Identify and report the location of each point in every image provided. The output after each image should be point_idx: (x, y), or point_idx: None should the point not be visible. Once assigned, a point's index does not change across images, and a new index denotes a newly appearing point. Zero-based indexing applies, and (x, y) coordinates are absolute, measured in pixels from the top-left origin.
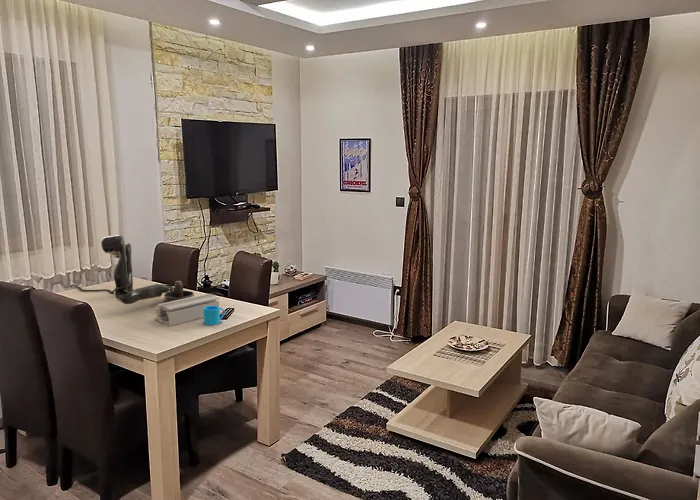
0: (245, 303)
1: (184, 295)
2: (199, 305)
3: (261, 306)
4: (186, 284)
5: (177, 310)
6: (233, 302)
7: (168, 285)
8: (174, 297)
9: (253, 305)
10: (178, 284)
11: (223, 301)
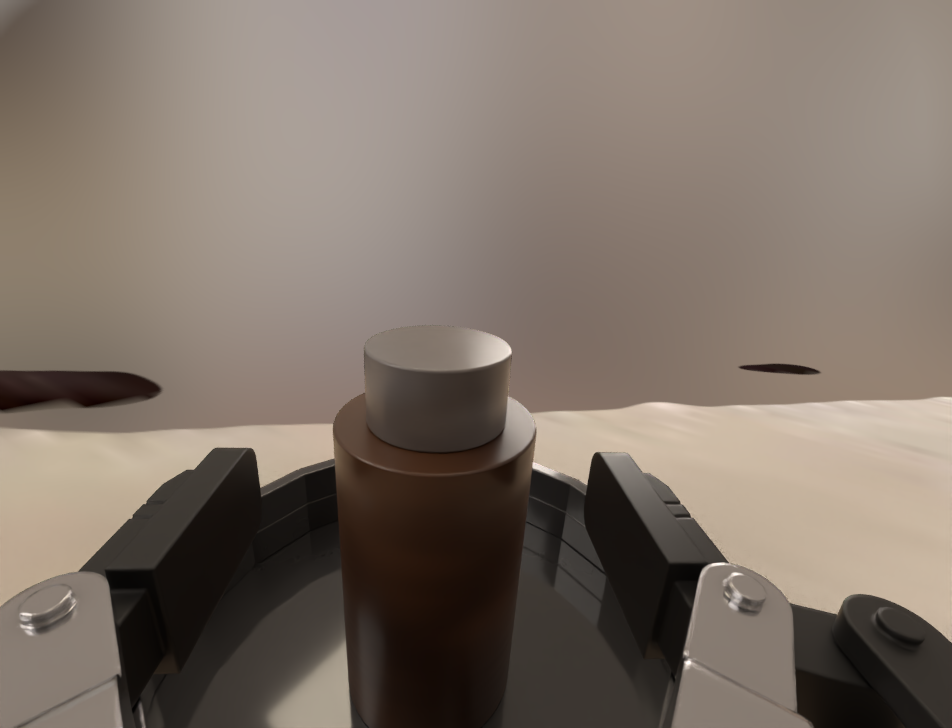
0: (852, 406)
1: (338, 522)
2: None
3: (947, 398)
4: (66, 372)
5: None
6: (808, 424)
7: (186, 559)
8: (279, 670)
9: (918, 405)
10: (499, 417)
11: (757, 440)
